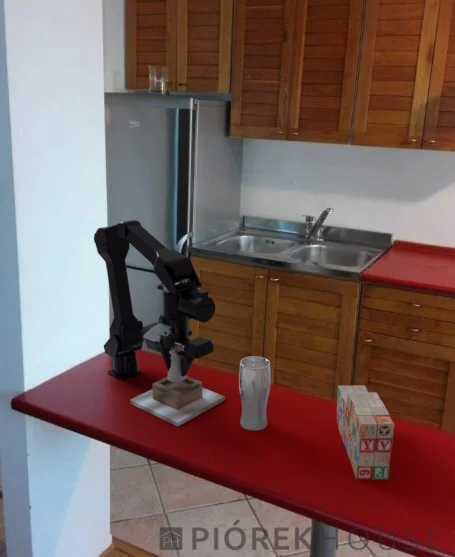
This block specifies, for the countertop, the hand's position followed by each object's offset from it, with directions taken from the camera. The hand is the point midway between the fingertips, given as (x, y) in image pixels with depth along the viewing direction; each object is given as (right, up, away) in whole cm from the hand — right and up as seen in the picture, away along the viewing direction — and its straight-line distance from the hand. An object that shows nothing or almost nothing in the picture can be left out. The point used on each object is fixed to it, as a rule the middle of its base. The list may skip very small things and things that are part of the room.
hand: (176, 372), depth 136 cm
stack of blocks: (+40, -13, -16) cm, 45 cm away
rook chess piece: (0, -2, 0) cm, 2 cm away
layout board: (0, -7, +2) cm, 8 cm away
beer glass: (+18, -10, -7) cm, 22 cm away
